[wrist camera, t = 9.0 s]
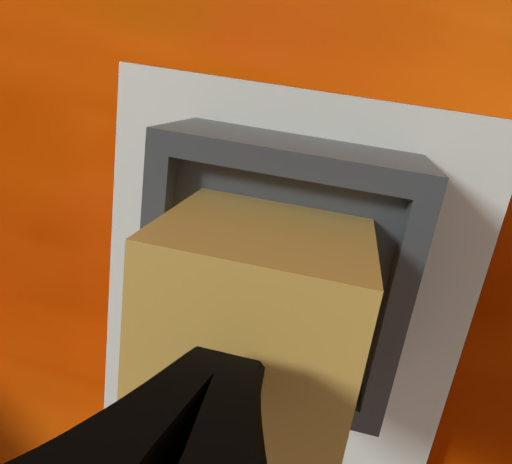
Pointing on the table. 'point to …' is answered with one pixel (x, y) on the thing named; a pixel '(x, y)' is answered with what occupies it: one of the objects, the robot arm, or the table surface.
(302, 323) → the ochre block
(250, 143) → the charcoal base block
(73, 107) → the table surface
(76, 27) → the table surface
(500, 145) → the build board
